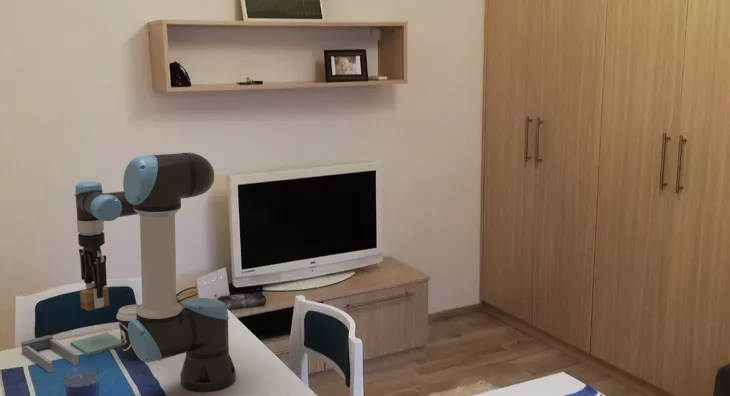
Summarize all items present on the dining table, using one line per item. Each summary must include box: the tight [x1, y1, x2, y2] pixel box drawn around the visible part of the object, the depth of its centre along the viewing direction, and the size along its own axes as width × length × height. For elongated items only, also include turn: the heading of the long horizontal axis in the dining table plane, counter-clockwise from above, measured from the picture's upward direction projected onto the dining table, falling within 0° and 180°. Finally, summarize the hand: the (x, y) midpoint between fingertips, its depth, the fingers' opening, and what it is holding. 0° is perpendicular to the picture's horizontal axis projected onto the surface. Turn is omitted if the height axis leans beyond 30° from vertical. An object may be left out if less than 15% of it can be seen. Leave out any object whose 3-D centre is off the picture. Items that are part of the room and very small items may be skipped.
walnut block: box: [79, 286, 110, 312], centre depth 219 cm, size 7×4×6 cm, turn 136°
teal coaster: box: [70, 332, 122, 357], centre depth 221 cm, size 12×12×1 cm
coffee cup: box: [115, 304, 141, 361], centre depth 212 cm, size 10×10×15 cm
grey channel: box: [20, 334, 80, 374], centre depth 210 cm, size 20×8×4 cm, turn 46°
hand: (95, 305), depth 219 cm, fingers closed on walnut block, 4 cm apart
